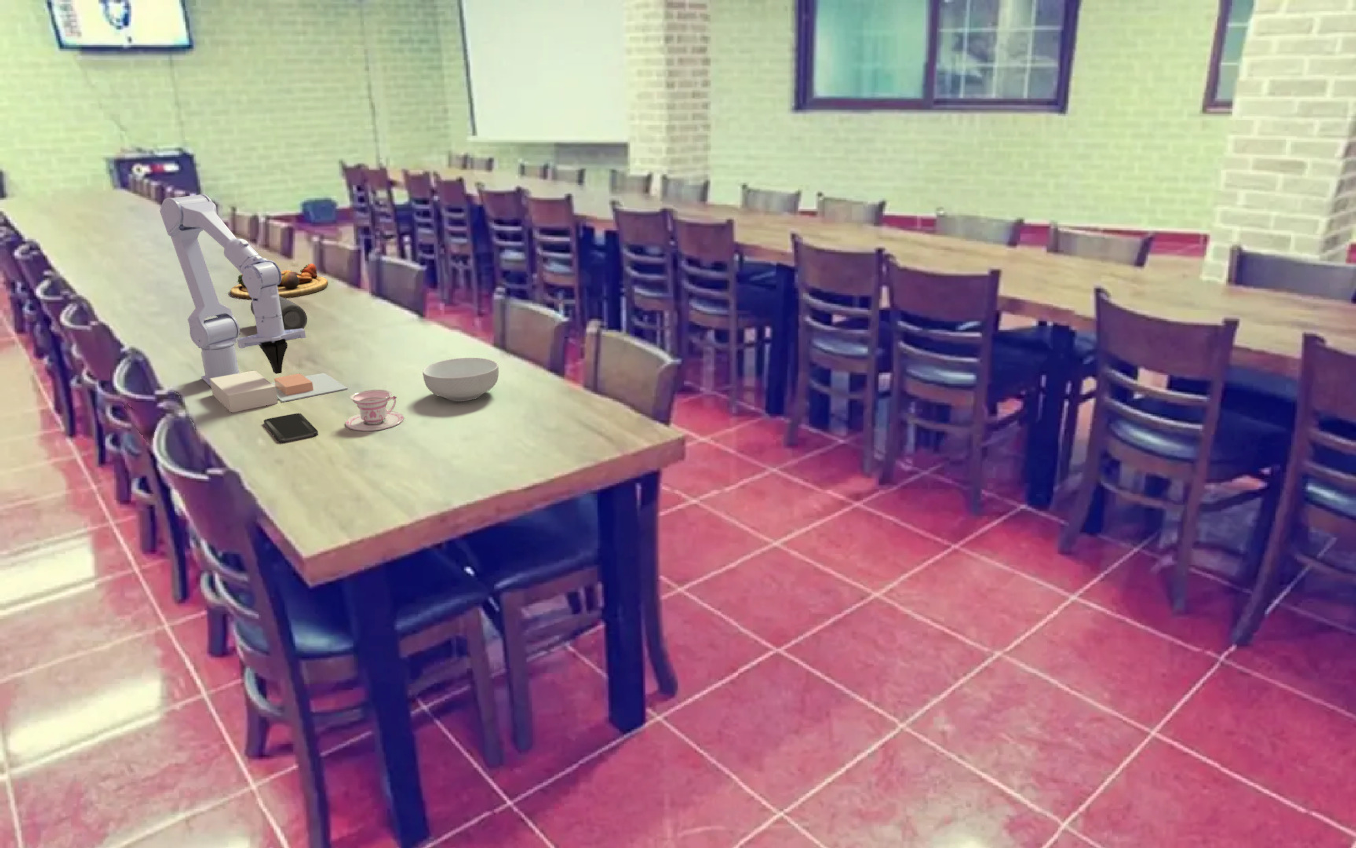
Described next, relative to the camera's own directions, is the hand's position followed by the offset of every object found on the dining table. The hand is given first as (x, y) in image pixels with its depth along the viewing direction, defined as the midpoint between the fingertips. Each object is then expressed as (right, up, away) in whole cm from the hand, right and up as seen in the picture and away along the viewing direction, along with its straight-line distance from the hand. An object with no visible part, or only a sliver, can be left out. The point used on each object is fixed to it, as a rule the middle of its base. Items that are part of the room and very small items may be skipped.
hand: (277, 372), depth 217 cm
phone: (+12, -14, -21) cm, 28 cm away
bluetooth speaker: (-23, +15, +56) cm, 63 cm away
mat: (+4, -3, +5) cm, 7 cm away
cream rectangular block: (-6, -6, -3) cm, 9 cm away
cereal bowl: (+44, -6, -2) cm, 44 cm away
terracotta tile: (+2, -2, +3) cm, 4 cm away
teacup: (+28, -12, -18) cm, 35 cm away
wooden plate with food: (-46, +35, +110) cm, 124 cm away
